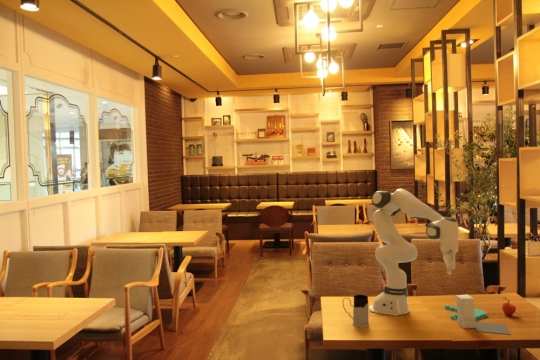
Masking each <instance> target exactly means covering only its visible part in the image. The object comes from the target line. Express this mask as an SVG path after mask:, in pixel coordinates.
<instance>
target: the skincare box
mask: <svg viewBox="0 0 540 360" xmlns="http://www.w3.org/2000/svg"><path fill="white" fill-rule="evenodd" d="M455 300H456V308H457V312H456V314H457V316H458V318H457V324H458V325H459V326H460V327H461V328H463V329H475V328H476V326H475V322H476V321H475V311H474V308H475V300H474V297H472V296H471V295H469V294H456V295H455Z"/></svg>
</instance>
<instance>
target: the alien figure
mask: <svg viewBox="0 0 540 360" xmlns="http://www.w3.org/2000/svg"><path fill="white" fill-rule="evenodd" d="M444 310H449V311H453V312H454V313H453V314H450V315H449V319H450V320H456V319H458V316H457V307H454V306H453V305H449V304H444ZM474 311H475V322H478V320H481V319H484V318H487V317H488V314H487V312H486V311H485V309H480V308H475V307H474Z"/></svg>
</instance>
